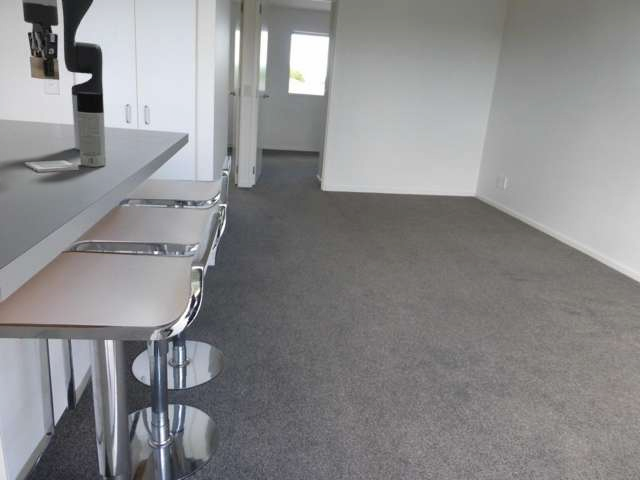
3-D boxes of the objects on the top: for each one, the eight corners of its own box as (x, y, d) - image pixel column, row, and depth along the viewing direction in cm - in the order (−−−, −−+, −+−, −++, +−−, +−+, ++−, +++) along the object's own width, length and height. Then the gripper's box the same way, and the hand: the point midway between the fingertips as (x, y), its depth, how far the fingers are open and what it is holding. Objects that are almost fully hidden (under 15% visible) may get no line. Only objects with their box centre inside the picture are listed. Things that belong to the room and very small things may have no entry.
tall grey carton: (111, 165, 145) (108, 93, 139) (94, 168, 139) (90, 93, 133) (92, 162, 147) (89, 91, 141) (74, 165, 141) (70, 91, 135)
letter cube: (52, 78, 132) (50, 57, 130) (59, 79, 129) (58, 58, 127) (31, 77, 128) (29, 55, 127) (38, 78, 125) (36, 56, 124)
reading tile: (25, 165, 135) (25, 161, 135) (64, 163, 142) (64, 160, 142) (38, 172, 129) (38, 168, 129) (78, 169, 136) (78, 166, 136)
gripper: (13, 1, 125) (20, 73, 130) (33, -1, 116) (39, 76, 121) (45, 6, 130) (50, 75, 136) (67, 5, 121) (71, 78, 126)
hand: (45, 75), depth 128 cm, fingers closed on letter cube, 5 cm apart
